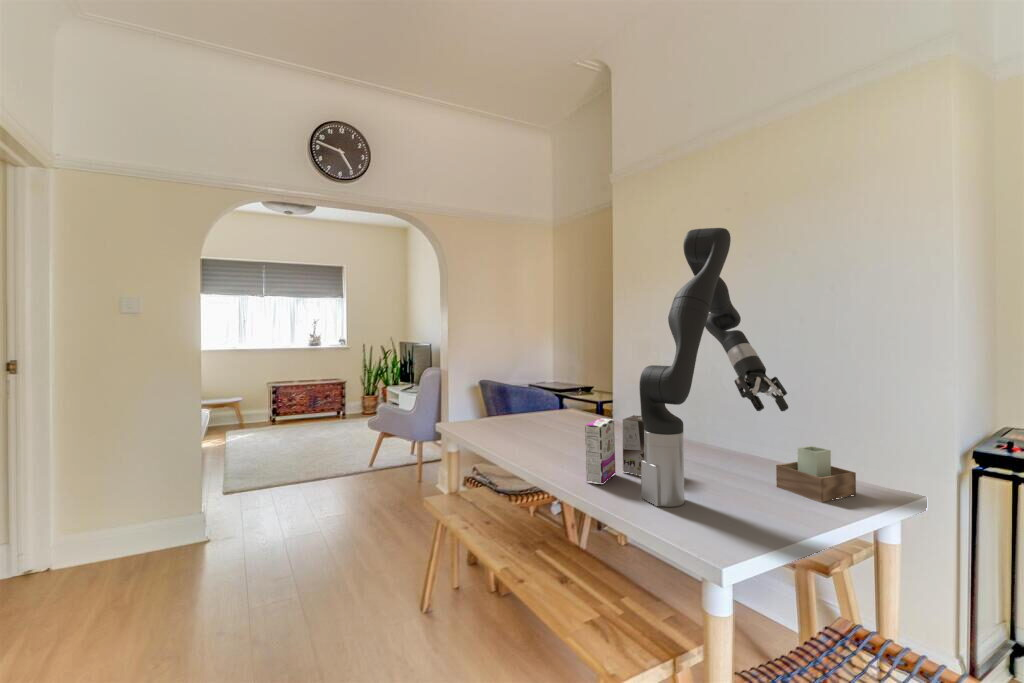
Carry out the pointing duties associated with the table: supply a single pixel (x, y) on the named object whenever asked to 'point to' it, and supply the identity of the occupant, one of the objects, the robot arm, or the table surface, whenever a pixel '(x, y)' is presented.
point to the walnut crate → (816, 482)
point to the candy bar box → (600, 450)
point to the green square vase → (814, 461)
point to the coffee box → (633, 444)
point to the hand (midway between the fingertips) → (773, 409)
